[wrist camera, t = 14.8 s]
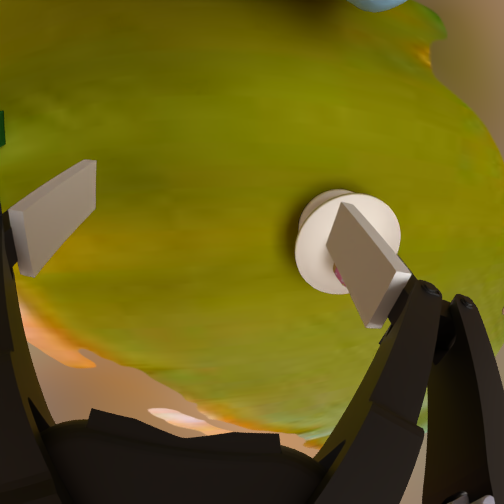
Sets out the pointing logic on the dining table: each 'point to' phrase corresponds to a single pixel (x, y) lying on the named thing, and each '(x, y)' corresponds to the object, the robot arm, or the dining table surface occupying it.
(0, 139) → the milk carton
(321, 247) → the cake stand
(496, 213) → the dining table surface
